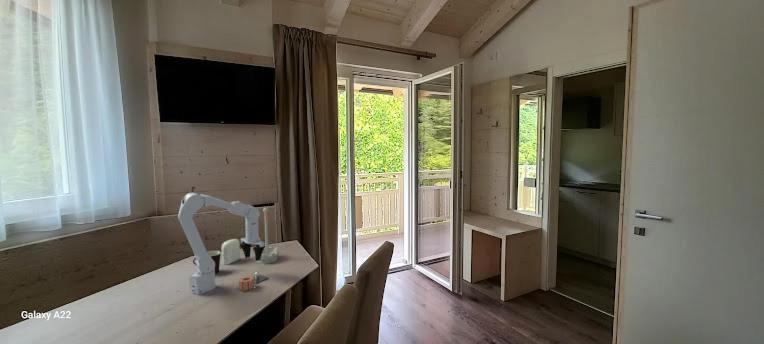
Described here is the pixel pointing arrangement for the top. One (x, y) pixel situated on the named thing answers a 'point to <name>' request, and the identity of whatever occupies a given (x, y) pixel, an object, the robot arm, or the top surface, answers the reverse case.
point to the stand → (246, 290)
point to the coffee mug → (216, 257)
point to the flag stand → (268, 253)
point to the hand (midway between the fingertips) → (252, 258)
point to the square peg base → (259, 278)
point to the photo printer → (230, 251)
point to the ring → (246, 283)
